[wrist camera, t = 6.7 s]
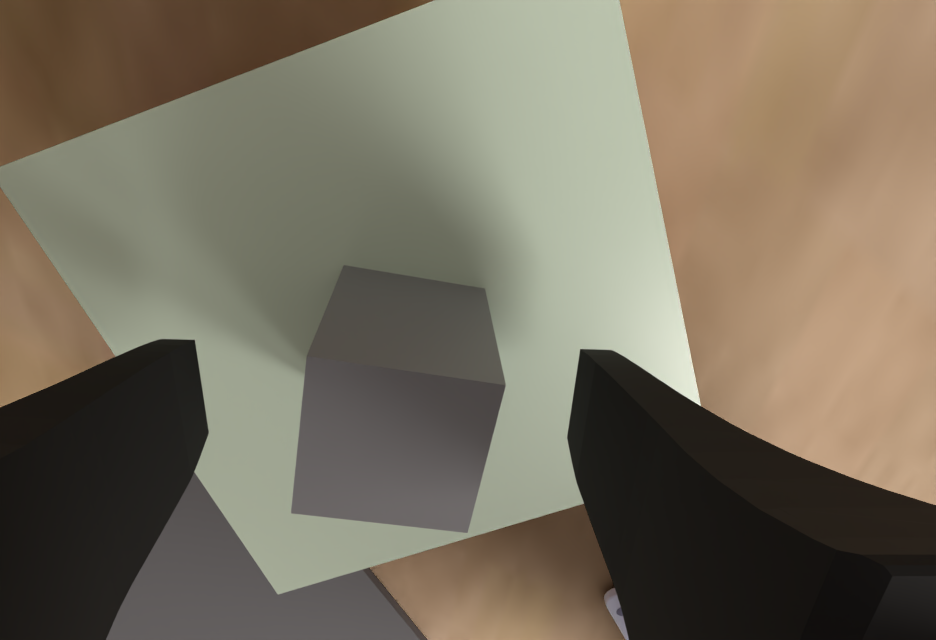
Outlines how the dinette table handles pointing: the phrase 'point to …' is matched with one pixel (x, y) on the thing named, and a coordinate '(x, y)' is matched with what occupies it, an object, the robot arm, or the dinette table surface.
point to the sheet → (381, 270)
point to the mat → (243, 591)
